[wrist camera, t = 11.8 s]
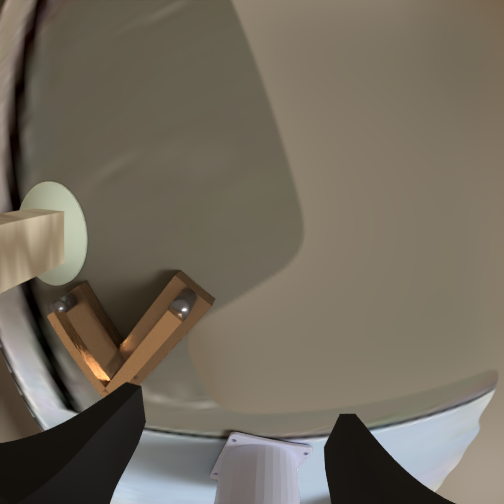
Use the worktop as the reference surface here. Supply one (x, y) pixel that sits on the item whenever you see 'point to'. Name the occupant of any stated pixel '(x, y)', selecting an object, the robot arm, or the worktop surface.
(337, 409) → the worktop surface
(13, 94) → the worktop surface
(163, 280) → the worktop surface
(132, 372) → the copper rod course
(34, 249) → the birch handle block
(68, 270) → the pad
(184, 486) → the worktop surface
